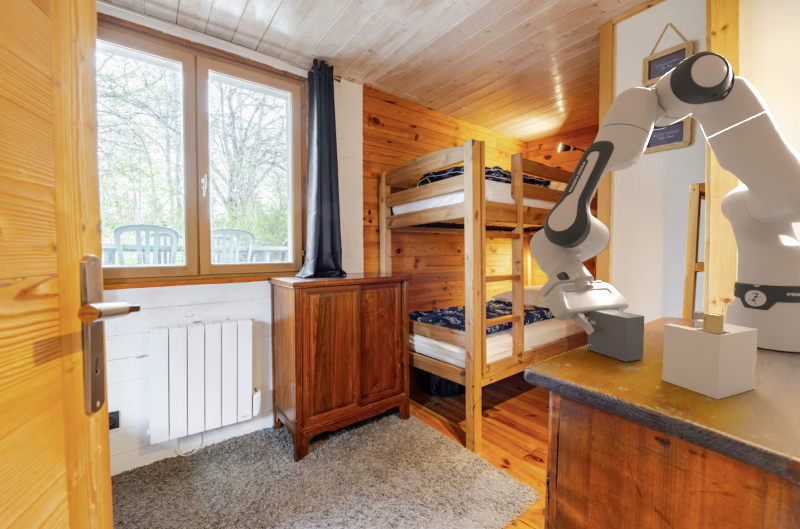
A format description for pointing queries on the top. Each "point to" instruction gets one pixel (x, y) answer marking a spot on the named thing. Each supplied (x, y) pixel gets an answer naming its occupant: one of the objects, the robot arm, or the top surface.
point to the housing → (710, 359)
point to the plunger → (713, 323)
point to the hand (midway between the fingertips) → (608, 331)
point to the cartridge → (617, 334)
